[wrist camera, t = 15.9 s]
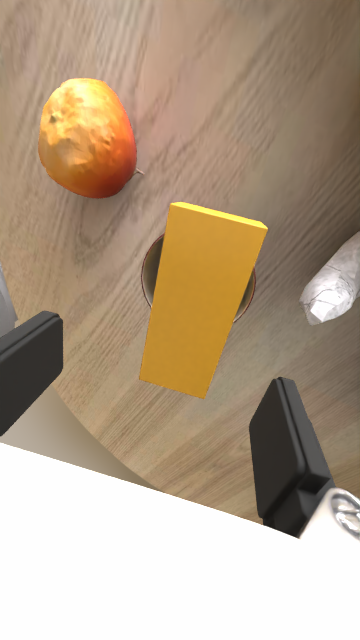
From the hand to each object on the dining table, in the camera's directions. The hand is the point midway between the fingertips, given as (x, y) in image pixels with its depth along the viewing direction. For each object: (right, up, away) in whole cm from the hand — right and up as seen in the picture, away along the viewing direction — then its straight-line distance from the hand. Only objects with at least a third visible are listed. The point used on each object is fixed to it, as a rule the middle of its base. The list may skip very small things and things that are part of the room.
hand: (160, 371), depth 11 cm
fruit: (-6, +18, +13) cm, 23 cm away
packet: (+2, +4, +7) cm, 8 cm away
